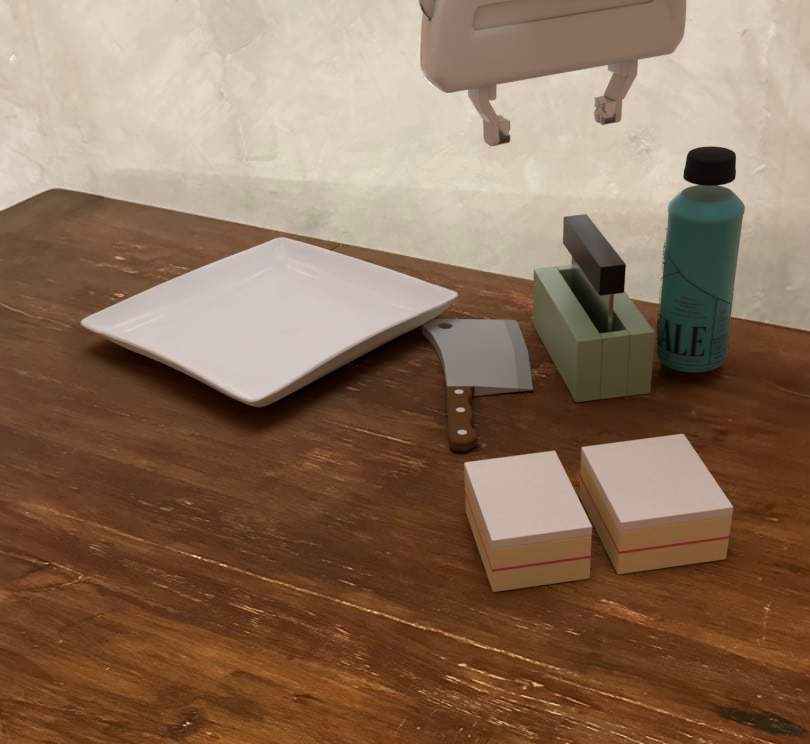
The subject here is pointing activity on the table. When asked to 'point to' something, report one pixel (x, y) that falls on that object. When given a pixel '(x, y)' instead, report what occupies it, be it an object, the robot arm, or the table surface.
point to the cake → (654, 504)
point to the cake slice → (527, 521)
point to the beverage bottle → (700, 264)
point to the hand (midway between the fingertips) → (552, 132)
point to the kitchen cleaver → (477, 367)
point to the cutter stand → (592, 340)
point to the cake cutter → (593, 270)
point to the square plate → (270, 318)
